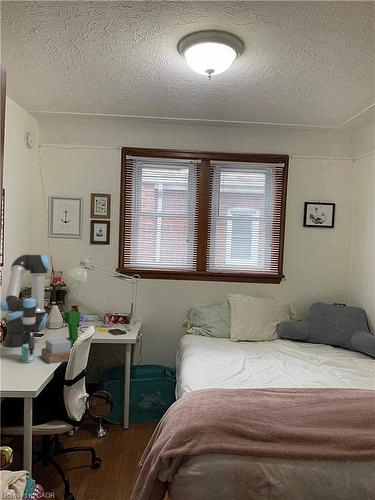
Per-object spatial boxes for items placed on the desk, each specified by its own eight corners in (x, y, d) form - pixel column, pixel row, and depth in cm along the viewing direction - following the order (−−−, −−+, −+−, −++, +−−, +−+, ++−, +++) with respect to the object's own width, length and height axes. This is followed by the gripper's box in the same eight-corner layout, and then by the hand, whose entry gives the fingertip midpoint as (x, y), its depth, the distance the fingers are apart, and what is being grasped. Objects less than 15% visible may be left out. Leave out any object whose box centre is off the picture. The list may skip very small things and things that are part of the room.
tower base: (41, 357, 251) (41, 348, 251) (65, 354, 260) (66, 345, 260) (49, 364, 238) (49, 355, 238) (74, 360, 248) (74, 351, 248)
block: (21, 359, 244) (21, 347, 244) (31, 358, 248) (31, 345, 248) (23, 362, 240) (24, 349, 239) (33, 360, 243) (34, 348, 243)
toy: (63, 346, 278) (64, 304, 277) (83, 345, 283) (85, 304, 282) (64, 350, 268) (65, 307, 267) (85, 349, 273) (86, 306, 272)
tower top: (45, 349, 250) (45, 340, 250) (63, 346, 257) (64, 337, 257) (51, 353, 240) (52, 344, 240) (70, 351, 248) (71, 341, 248)
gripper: (17, 320, 251) (16, 352, 251) (28, 327, 231) (26, 363, 231) (29, 319, 255) (28, 351, 256) (40, 326, 236) (39, 361, 236)
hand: (27, 356), depth 244 cm, fingers open, 13 cm apart
